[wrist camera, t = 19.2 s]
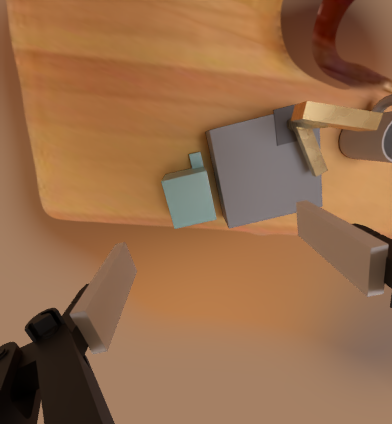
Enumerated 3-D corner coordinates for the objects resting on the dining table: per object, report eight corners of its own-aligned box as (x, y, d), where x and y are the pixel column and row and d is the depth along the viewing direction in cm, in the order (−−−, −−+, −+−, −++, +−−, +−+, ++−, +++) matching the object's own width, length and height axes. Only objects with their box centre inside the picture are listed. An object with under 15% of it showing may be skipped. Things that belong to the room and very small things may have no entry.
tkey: (256, 167, 32) (286, 179, 22) (268, 113, 29) (307, 99, 20) (315, 175, 33) (368, 189, 23) (331, 122, 30) (398, 114, 21)
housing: (205, 128, 36) (208, 126, 30) (297, 105, 35) (319, 98, 29) (223, 216, 41) (229, 228, 35) (303, 197, 40) (323, 206, 35)
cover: (161, 160, 37) (156, 164, 30) (199, 151, 37) (203, 153, 30) (176, 214, 40) (174, 228, 34) (211, 206, 40) (216, 219, 34)
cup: (331, 155, 38) (373, 159, 30) (353, 94, 35) (406, 79, 27) (367, 161, 39) (417, 167, 30) (391, 102, 36) (455, 90, 27)
